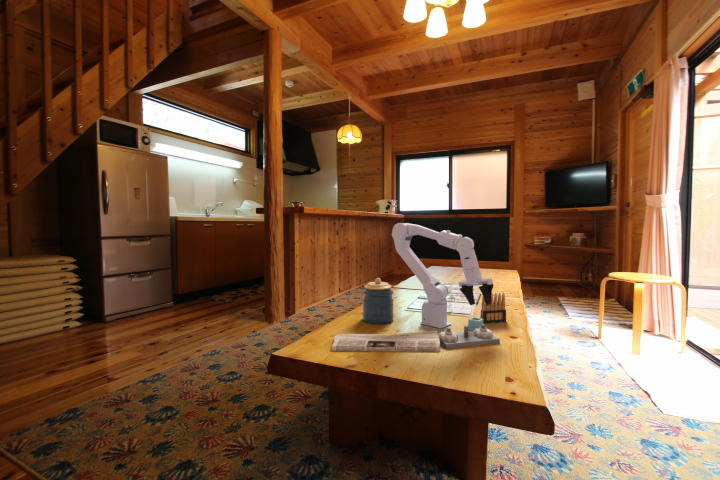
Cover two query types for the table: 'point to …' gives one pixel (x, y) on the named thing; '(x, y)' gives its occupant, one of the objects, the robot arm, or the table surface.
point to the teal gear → (474, 323)
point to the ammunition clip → (494, 310)
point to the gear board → (467, 338)
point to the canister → (378, 302)
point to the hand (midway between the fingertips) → (480, 304)
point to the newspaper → (388, 342)
